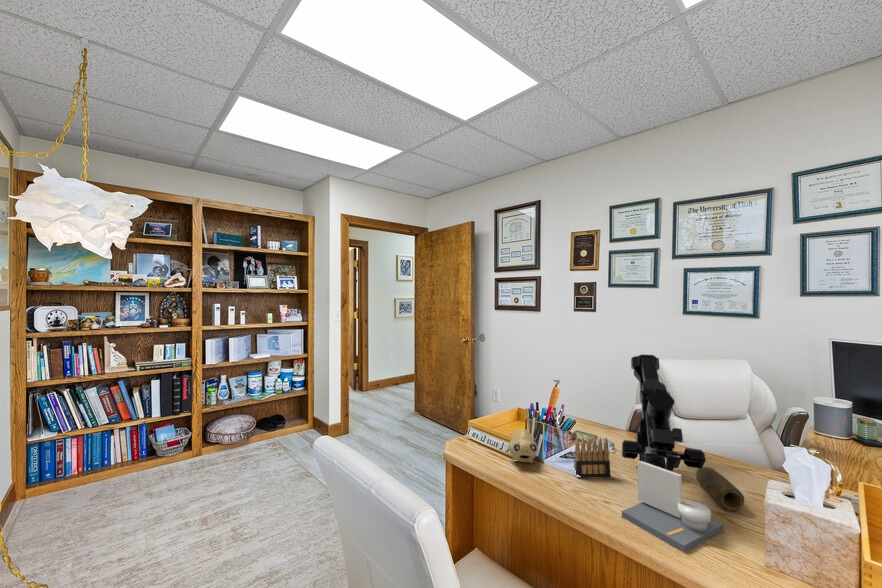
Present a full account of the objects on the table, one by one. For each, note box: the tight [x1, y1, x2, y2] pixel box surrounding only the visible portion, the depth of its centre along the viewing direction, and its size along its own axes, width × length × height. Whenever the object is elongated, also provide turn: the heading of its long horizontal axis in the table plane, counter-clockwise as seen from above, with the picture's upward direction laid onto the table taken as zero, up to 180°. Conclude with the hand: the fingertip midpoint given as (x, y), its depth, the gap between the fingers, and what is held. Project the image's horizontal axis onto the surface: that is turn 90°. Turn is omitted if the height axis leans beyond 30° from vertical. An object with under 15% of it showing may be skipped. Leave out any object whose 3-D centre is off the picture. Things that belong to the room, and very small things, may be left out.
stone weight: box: [695, 466, 745, 512], centre depth 102 cm, size 15×7×7 cm, turn 171°
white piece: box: [636, 460, 712, 523], centre depth 91 cm, size 16×6×10 cm, turn 35°
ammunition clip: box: [573, 436, 612, 478], centre depth 115 cm, size 11×2×12 cm, turn 90°
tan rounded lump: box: [507, 428, 539, 463], centre depth 126 cm, size 10×12×11 cm
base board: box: [621, 502, 725, 553], centre depth 91 cm, size 15×16×4 cm
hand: (665, 487), depth 94 cm, fingers closed
